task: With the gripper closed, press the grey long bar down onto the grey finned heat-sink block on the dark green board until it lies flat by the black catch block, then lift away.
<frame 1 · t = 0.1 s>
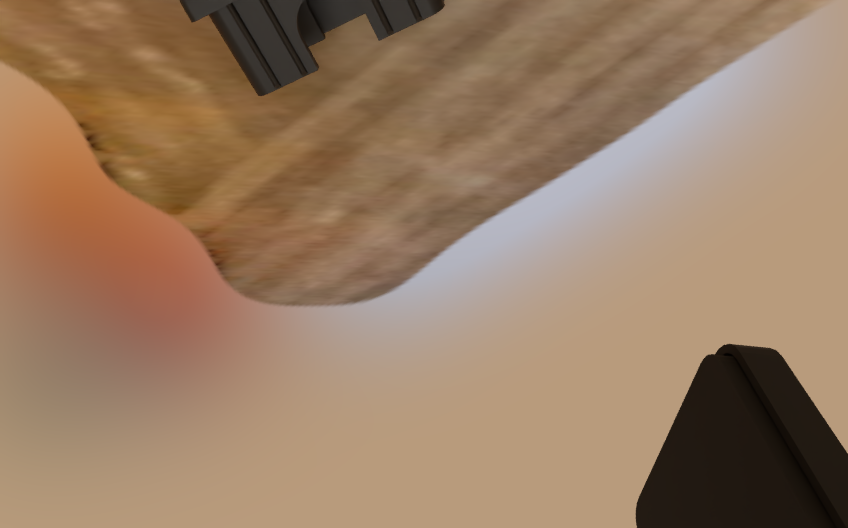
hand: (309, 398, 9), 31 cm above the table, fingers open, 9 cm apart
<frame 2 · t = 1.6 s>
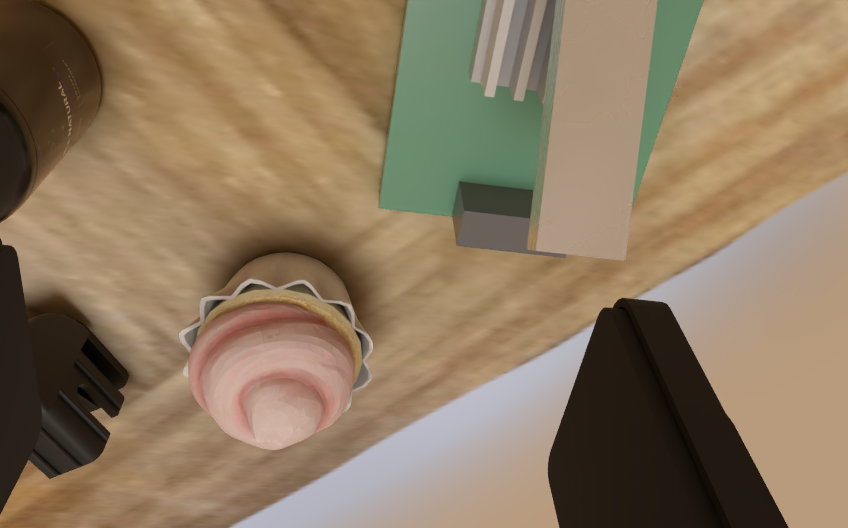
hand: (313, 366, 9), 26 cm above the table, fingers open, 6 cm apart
cupcake: (288, 297, 41), on the table
board: (547, 3, 32), on the table
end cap: (27, 358, 42), on the table
supplement bottle: (26, 67, 33), on the table
grey long bar: (602, 29, 25), point 8 cm above the table, hinge at 30.0°
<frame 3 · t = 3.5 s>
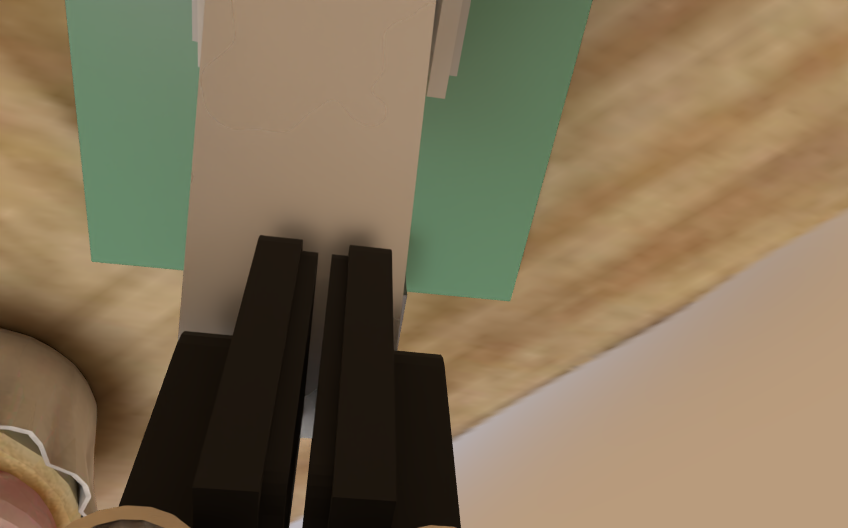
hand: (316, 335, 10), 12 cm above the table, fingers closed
cupcake: (2, 390, 26), on the table
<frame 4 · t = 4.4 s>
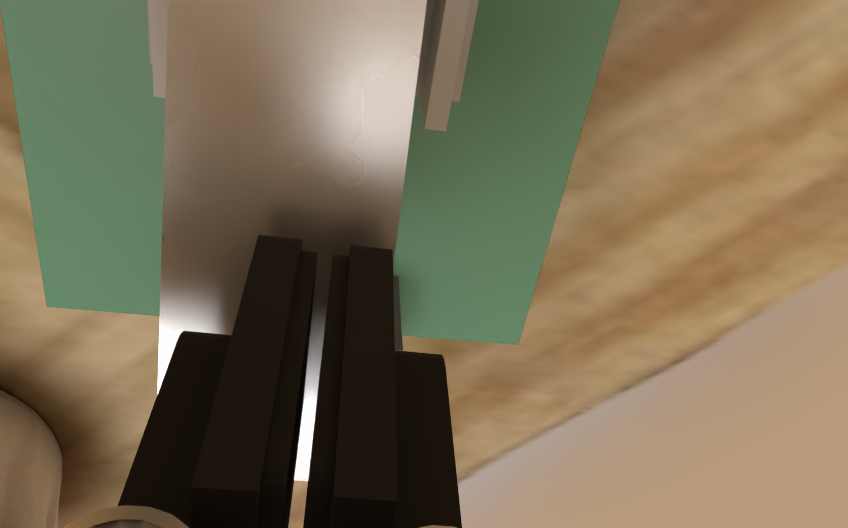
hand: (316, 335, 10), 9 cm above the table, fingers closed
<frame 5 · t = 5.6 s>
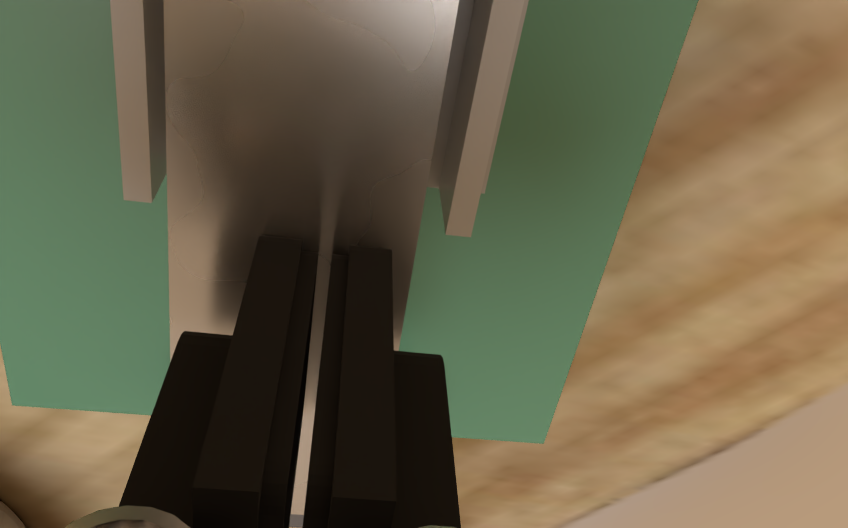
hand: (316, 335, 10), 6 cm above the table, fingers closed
grey long bar: (314, 19, 9), point 5 cm above the table, hinge at 2.8°, touching gripper
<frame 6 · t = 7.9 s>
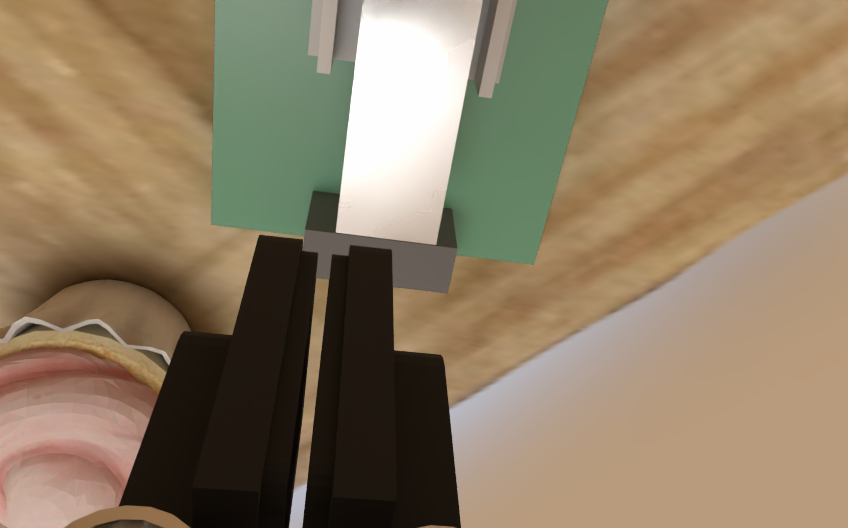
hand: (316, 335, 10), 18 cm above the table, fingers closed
cupcake: (120, 336, 32), on the table
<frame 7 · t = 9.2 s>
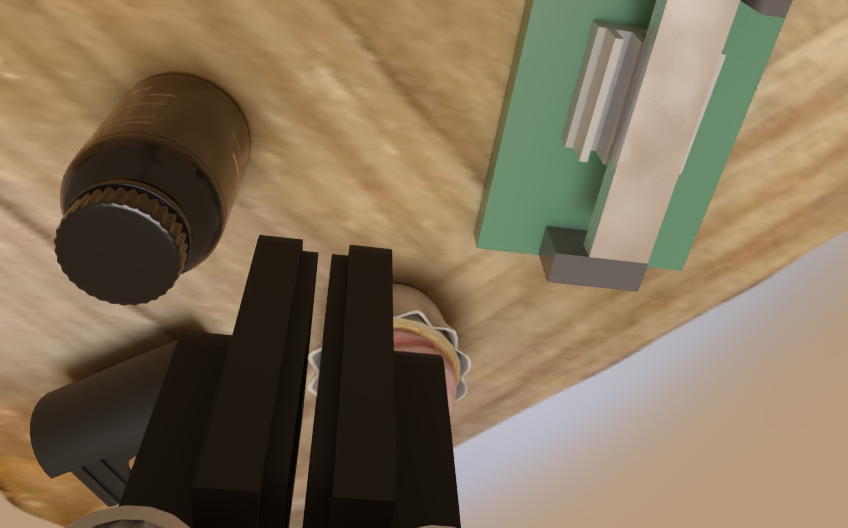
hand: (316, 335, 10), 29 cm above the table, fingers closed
cupcake: (388, 321, 47), on the table
board: (627, 80, 39), on the table
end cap: (157, 373, 48), on the table
supplement bottle: (186, 131, 39), on the table
grey long bar: (661, 112, 34), point 5 cm above the table, hinge at 2.5°
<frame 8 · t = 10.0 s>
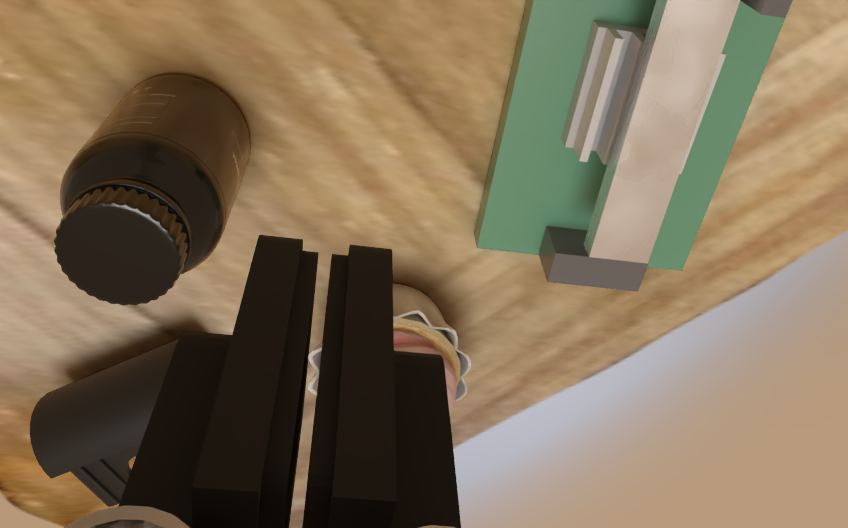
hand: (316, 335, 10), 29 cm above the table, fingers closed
cupcake: (388, 321, 47), on the table
board: (627, 80, 39), on the table
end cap: (157, 373, 48), on the table
supplement bottle: (186, 131, 39), on the table
grey long bar: (661, 112, 34), point 5 cm above the table, hinge at 2.5°
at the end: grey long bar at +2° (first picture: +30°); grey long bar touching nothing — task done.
